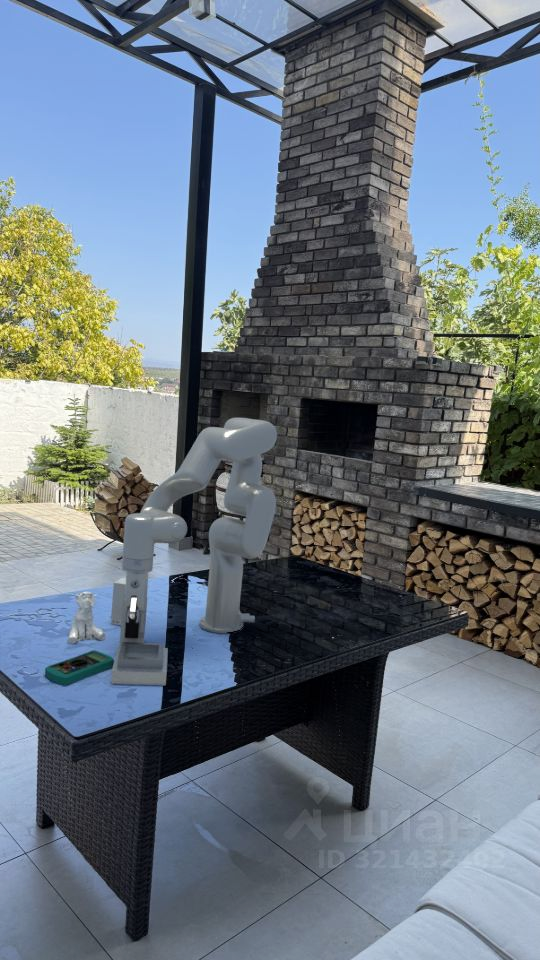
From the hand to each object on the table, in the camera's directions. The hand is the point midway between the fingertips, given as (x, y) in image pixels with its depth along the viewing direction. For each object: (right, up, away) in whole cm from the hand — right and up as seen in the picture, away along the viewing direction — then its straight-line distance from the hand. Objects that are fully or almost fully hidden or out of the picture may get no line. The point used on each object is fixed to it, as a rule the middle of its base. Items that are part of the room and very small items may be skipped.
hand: (132, 631), depth 159 cm
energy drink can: (0, -5, +1) cm, 5 cm away
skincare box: (-7, -2, +19) cm, 20 cm away
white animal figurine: (-14, -3, +6) cm, 16 cm away
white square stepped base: (+4, -7, -12) cm, 14 cm away
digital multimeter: (-9, -6, -15) cm, 18 cm away
